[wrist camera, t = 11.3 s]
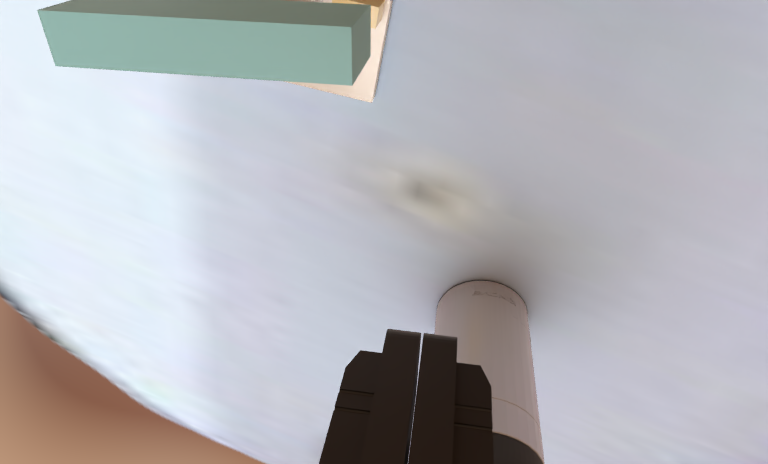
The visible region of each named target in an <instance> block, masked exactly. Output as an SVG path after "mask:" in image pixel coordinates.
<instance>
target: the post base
mask: <svg viewBox="0 0 768 464" xmlns="http://www.w3.org/2000/svg"><path fill="white" fill-rule="evenodd" d="M282 1H303V2H323V3H344V4H365V5H371V56H370V58H369V60H368V61H367V63H366V64H365V66H364V68H363V69H362V71H361V73H360V74H359V76H358V77H357V79H356V81H355V82H354V84H353V86H348V85H333V84H318V83H303V82H288V81H284V82H288V83H293V84H297V85H301V86H305V87H309V88H313V89H317V90H321V91H326V92H330V93H334V94H338V95H342V96H346V97H350V98H354V99H358V100H363V101H367V102H371V103H372V101H373V99H374V97H375V93H376V88H377V82H378V77H379V72H380V66H381V61H382V56H383V50H384V45H385V40H386V35H387V29H388V24H389V19H390V13H391V8H392V3H393V0H282Z"/></svg>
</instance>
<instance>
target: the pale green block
mask: <svg viewBox="0 0 768 464" xmlns="http://www.w3.org/2000/svg"><path fill="white" fill-rule="evenodd" d="M37 11H38V14H39V17H40V20H41V23H42V26H43V29H44V32H45V35H46V38H47V41H48V44H49V47H50V50H51V53H52V56H53V59H54V62H55V66H63V67H78V68H93V69H108V70H123V71H138V72H153V73H168V74H183V75H198V76H213V77H228V78H243V79H258V80H273V81H288V82H303V83H318V84H333V85H348V86H353V84H354V82H355V81H356V79H357V77H358V76H359V74H360V73H361V71H362V69H363V68H364V66H365V64H366V63H367V61H368V60H369V58H370V56H371V5H365V4H344V3H323V2H303V1H282V0H70V1H67V2H64V3H60V4H57V5H53V6H50V7H47V8H43V9H40V10H37Z"/></svg>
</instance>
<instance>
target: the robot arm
mask: <svg viewBox="0 0 768 464" xmlns="http://www.w3.org/2000/svg"><path fill="white" fill-rule="evenodd" d="M420 340H421V333H418V332H410V331H401V330H393V329H388V330H387V333H386V338H385V343H384V347H383V352H382V353H377V352H369V351H361V350H360V352H359V353H358V354H357V355H356V356H355V357H354V358H353V360H352V361H351V362H350V363H349V364H348V365H347V367H346V368H345V372H344V375H343V379H342V383H341V386H340V392H339V393H338V397H337V401H336V404H335V410H334V411H333V415H332V419H331V422H330V426H329V429H328V433H327V437H326V440H325V444H324V447H323V451H322V455H321V458H320V462H319V464H544V455H543V446H542V437H541V430H540V421H539V412H538V403H537V394H536V385H535V377H534V368H533V359H532V350H531V340H530V331H529V323H528V315H527V308H526V306H525V303H524V302H523V300H522V299H521V297H520V296H519V295H518V294H517V293H515V292H514V291H513V290H512V289H510V288H508V287H506V286H504V285H501V284H499V283H496V282H490V281H471V282H465V283H463V284H460V285H457V286H455V287H454V288H452V289H450V290H449V291H448V292H447V293H445V294H444V295H443V297H442V298H441V300H440V301H439V304H438V307H437V312H436V322H435V332H434V334H428V333H424V336H423V344H422V352H421V361H420V369H419V377H418V386H417V376H418V364H419V352H420ZM416 387H417V394H416ZM415 397H416V402H415ZM414 407H415V411H414ZM413 415H414V419H413ZM412 423H413V427H412ZM411 431H412V436H411ZM410 440H411V444H410ZM409 448H410V452H409ZM408 456H409V461H408Z"/></svg>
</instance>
